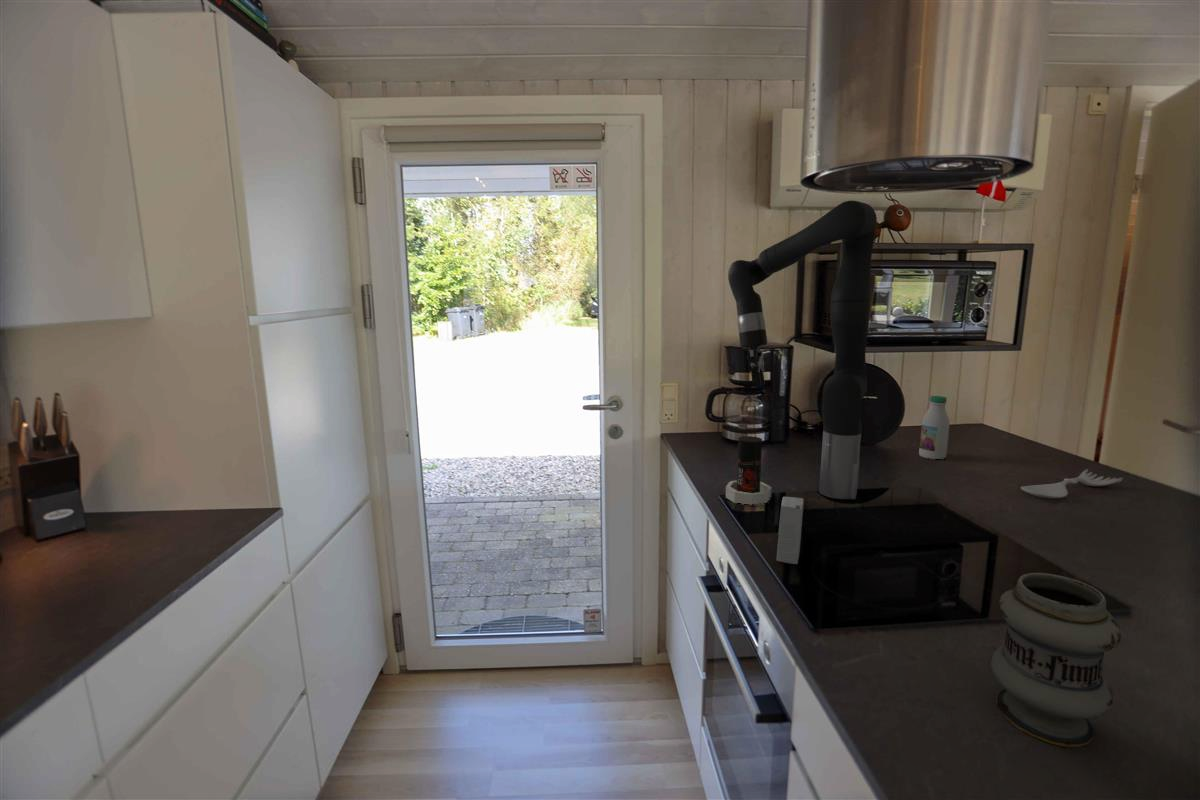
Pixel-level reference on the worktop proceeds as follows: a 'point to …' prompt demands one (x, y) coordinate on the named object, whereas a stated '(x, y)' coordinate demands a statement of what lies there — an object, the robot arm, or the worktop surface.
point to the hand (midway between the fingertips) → (759, 386)
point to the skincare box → (790, 530)
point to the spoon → (1060, 488)
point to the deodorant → (749, 464)
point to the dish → (748, 494)
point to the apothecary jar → (1054, 658)
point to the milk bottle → (935, 430)
